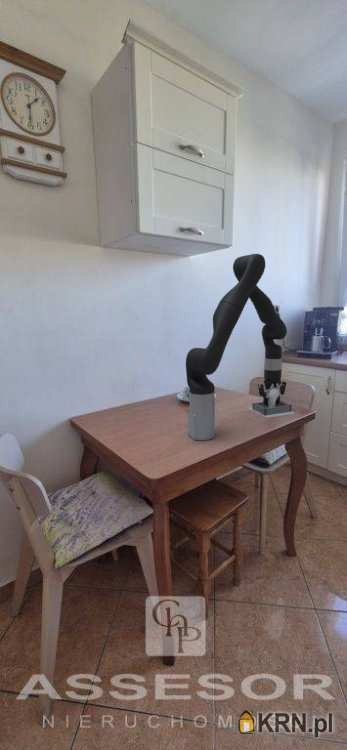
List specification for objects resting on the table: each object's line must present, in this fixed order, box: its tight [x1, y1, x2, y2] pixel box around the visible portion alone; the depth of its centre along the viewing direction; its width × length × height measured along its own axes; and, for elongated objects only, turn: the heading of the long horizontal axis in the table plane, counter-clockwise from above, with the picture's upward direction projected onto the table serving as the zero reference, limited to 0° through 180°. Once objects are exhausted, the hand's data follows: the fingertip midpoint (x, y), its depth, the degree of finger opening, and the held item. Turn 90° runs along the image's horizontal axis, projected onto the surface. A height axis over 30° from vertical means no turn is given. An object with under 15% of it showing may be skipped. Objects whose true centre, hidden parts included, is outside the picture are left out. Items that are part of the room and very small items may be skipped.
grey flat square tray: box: [248, 400, 297, 419], centre depth 146 cm, size 15×15×3 cm
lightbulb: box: [266, 387, 279, 408], centre depth 145 cm, size 6×6×11 cm
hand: (271, 404), depth 145 cm, fingers closed on lightbulb, 5 cm apart
